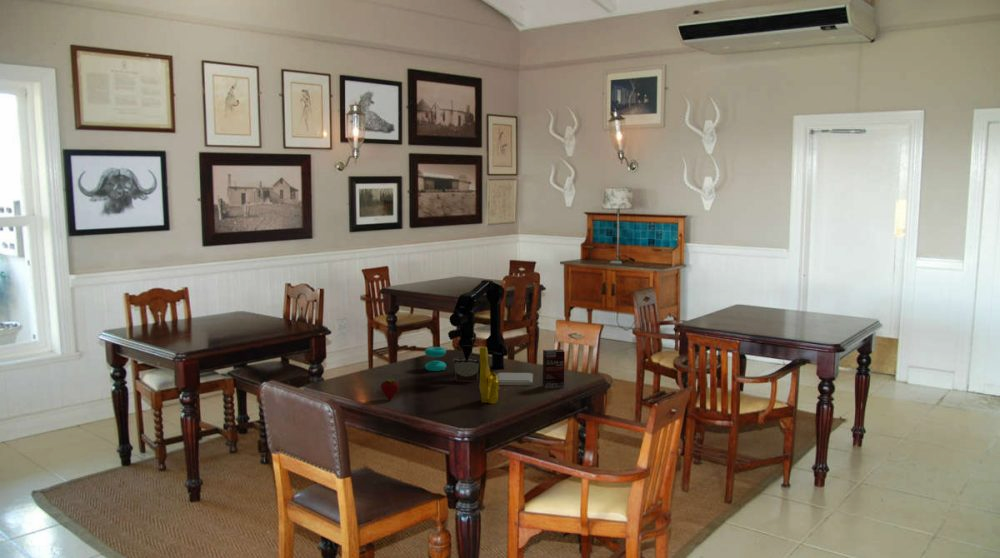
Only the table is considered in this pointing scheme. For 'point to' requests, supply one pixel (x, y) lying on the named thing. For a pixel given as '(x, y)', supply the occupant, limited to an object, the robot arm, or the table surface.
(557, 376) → the supplement box
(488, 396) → the yellow tall lumpy piece
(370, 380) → the table surface
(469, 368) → the food container
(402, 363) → the table surface
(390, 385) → the strawberry
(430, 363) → the donuts
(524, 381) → the white square tray
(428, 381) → the table surface
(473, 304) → the robot arm
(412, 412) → the table surface
